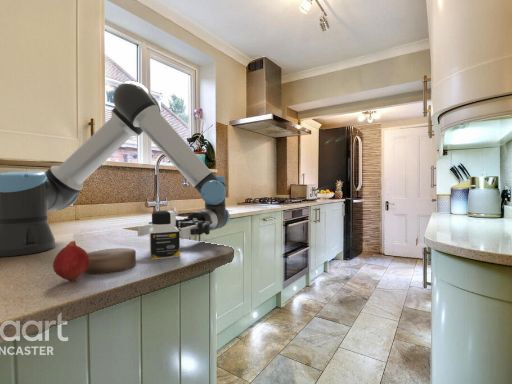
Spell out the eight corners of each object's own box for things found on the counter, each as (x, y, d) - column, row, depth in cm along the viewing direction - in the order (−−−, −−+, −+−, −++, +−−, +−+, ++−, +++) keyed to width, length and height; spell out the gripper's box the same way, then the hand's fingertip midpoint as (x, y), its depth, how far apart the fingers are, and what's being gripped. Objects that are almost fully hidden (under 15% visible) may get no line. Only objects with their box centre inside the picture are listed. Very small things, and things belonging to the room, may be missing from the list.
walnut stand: (93, 261, 67) (93, 249, 67) (140, 258, 69) (140, 247, 69) (72, 275, 57) (72, 261, 57) (128, 272, 59) (128, 258, 59)
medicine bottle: (150, 260, 68) (150, 212, 68) (149, 253, 75) (148, 210, 74) (180, 257, 71) (179, 211, 71) (176, 251, 78) (175, 209, 77)
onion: (51, 288, 50) (49, 245, 49) (57, 279, 55) (55, 239, 54) (88, 283, 52) (87, 242, 52) (90, 274, 57) (89, 237, 57)
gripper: (236, 235, 87) (201, 250, 67) (170, 231, 95) (122, 243, 75) (235, 211, 87) (201, 219, 67) (170, 210, 95) (122, 216, 75)
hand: (159, 232), depth 71 cm, fingers open, 13 cm apart
